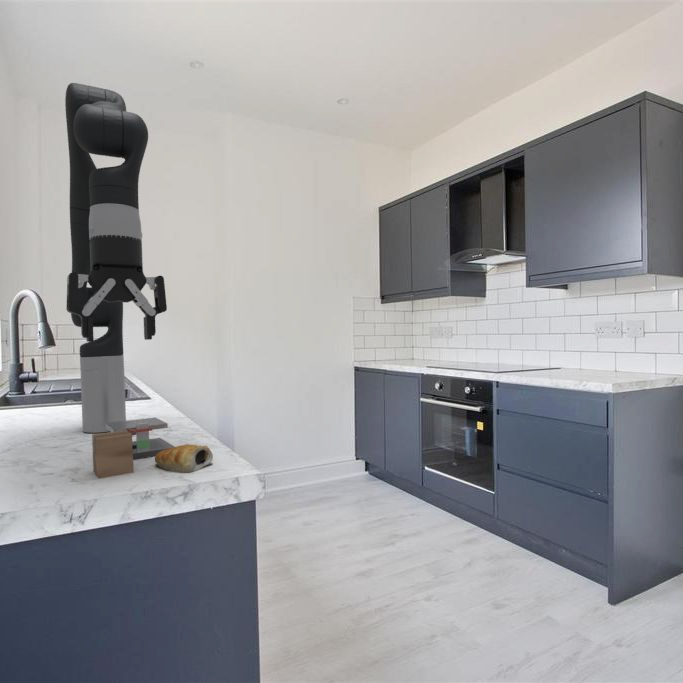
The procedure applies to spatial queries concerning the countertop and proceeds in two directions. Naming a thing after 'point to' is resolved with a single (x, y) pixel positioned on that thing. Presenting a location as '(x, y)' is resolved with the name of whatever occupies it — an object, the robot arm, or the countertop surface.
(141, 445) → the base
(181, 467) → the pastry
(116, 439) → the walnut block
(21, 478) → the countertop surface
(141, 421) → the pan
